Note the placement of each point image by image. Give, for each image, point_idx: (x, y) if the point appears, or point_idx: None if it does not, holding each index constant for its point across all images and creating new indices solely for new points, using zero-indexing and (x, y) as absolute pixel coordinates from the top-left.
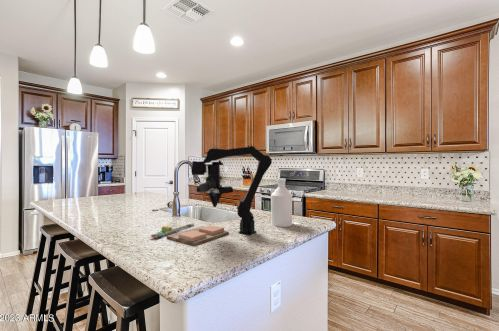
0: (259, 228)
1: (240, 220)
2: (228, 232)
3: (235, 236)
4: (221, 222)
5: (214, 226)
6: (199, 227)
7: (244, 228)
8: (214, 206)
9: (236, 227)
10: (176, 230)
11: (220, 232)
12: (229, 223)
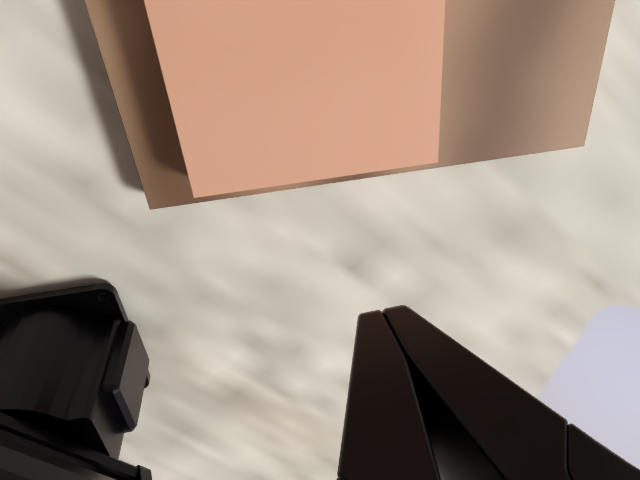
0: None
1: (91, 410)
2: (151, 200)
3: (6, 182)
4: (535, 381)
5: (350, 159)
6: (576, 83)
7: (15, 340)
8: (365, 319)
9: (301, 376)
10: None
11: None
12: None
